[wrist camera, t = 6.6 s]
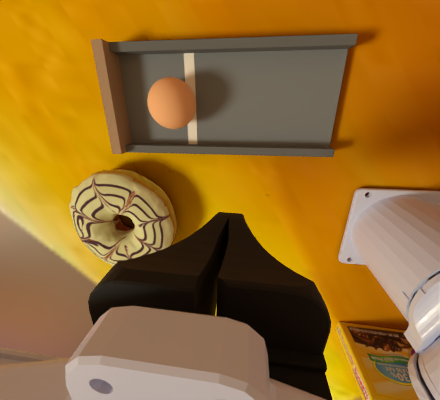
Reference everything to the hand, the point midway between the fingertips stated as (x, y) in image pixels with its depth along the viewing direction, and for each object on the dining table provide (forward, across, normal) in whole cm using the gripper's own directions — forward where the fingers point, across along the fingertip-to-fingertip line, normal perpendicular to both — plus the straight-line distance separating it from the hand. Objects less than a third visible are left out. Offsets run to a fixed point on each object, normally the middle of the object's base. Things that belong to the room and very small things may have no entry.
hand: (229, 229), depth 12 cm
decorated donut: (+10, +11, +5) cm, 16 cm away
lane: (+10, +2, -6) cm, 12 cm away
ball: (+7, +5, -6) cm, 11 cm away
